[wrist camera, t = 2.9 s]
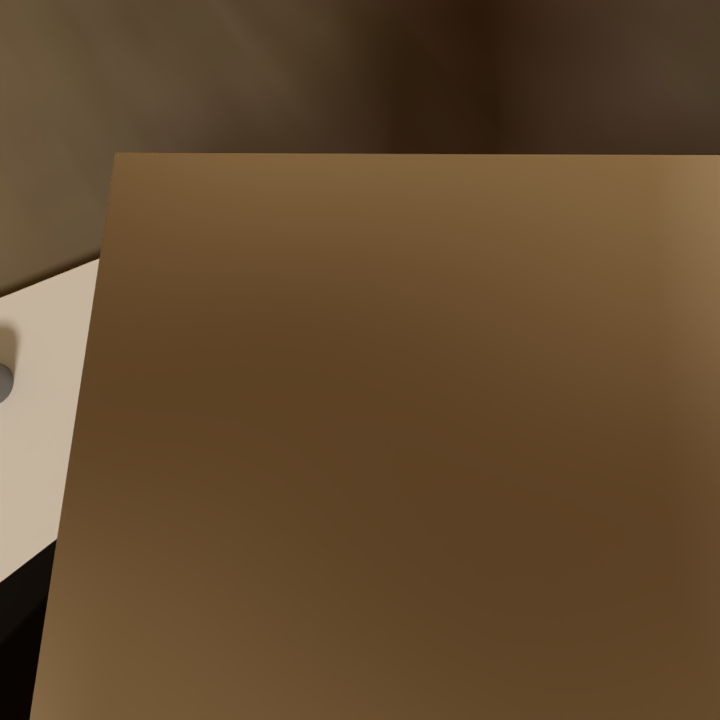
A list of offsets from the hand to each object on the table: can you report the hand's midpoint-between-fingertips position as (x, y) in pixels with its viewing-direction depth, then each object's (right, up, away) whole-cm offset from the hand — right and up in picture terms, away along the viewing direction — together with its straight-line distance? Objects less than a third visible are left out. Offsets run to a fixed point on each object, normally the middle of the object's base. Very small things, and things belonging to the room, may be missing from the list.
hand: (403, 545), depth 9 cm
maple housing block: (+1, 0, +9) cm, 9 cm away
